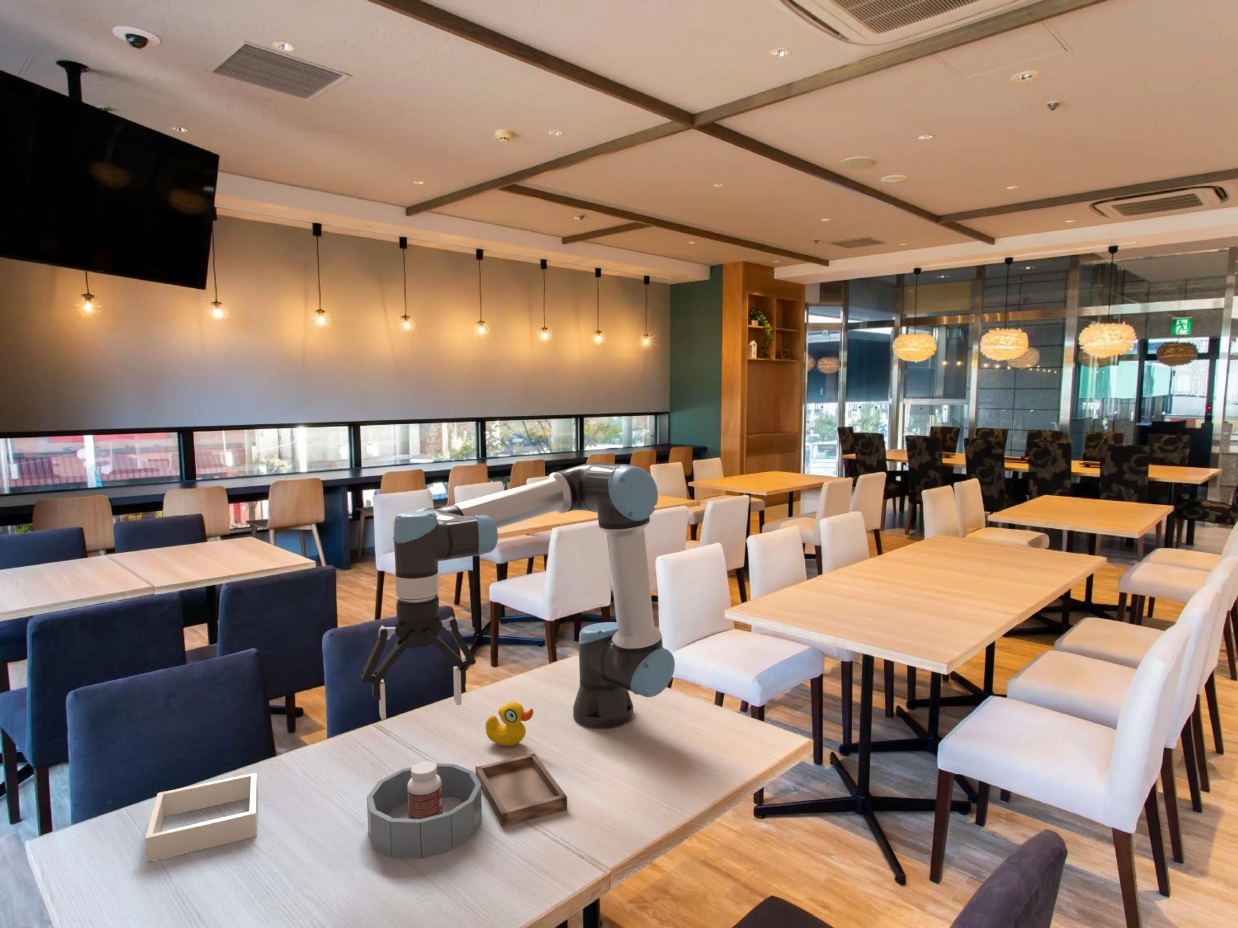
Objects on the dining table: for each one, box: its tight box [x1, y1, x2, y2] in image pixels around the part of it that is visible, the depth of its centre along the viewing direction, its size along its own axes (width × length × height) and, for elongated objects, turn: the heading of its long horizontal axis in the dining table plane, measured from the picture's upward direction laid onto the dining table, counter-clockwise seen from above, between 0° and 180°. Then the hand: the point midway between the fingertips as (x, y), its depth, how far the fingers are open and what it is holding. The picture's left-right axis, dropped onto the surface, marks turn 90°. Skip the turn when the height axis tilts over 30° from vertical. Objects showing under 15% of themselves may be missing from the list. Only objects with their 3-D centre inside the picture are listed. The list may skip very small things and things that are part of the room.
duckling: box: [485, 701, 534, 747], centre depth 165 cm, size 11×5×10 cm, turn 79°
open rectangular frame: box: [144, 772, 259, 863], centre depth 135 cm, size 17×16×4 cm
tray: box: [475, 753, 568, 828], centre depth 145 cm, size 13×19×3 cm
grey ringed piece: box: [366, 763, 483, 859], centre depth 135 cm, size 20×20×6 cm
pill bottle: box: [407, 761, 444, 819], centre depth 134 cm, size 6×6×11 cm
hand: (421, 709), depth 133 cm, fingers open, 13 cm apart
